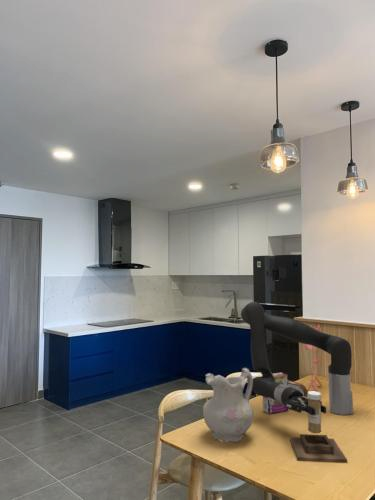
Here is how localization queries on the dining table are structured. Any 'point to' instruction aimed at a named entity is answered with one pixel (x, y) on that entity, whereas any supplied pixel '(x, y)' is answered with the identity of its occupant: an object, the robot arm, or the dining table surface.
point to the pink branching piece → (314, 363)
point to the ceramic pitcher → (229, 407)
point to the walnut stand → (316, 448)
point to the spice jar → (315, 403)
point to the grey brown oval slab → (298, 387)
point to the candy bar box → (272, 405)
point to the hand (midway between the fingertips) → (320, 411)
